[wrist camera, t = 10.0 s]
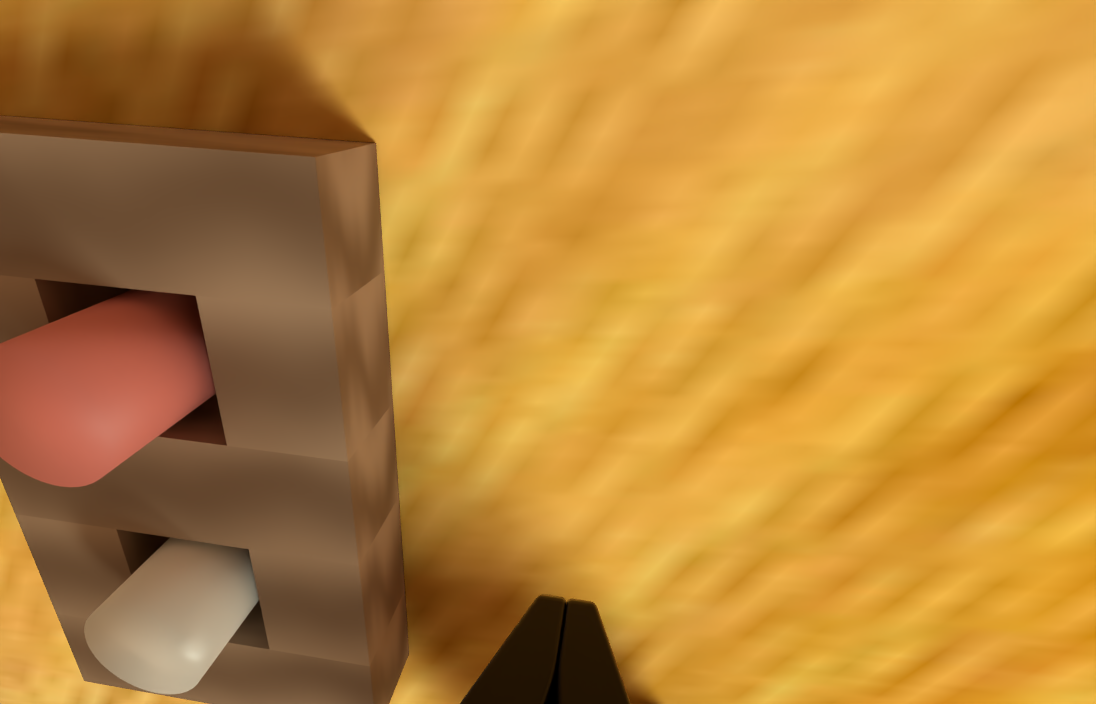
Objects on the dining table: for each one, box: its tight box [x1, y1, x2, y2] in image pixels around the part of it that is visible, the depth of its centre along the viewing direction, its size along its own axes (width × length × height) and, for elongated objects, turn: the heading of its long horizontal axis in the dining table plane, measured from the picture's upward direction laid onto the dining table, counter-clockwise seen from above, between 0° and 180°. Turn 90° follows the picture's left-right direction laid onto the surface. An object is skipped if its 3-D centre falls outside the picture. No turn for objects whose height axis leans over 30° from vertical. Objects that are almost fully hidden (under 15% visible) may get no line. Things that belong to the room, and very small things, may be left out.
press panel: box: [0, 115, 409, 704], centre depth 23 cm, size 24×14×4 cm, turn 177°
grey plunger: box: [84, 537, 259, 694], centre depth 24 cm, size 4×4×6 cm
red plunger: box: [0, 289, 216, 487], centre depth 19 cm, size 4×4×6 cm
